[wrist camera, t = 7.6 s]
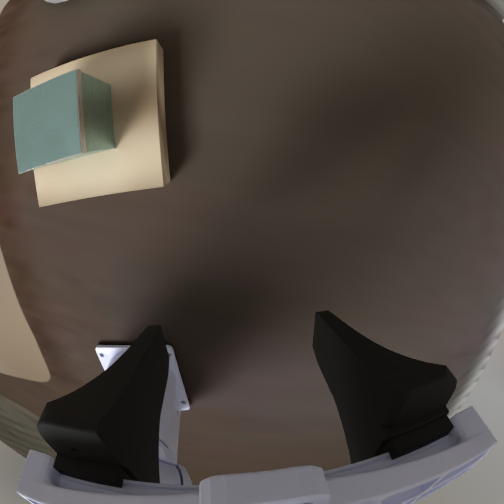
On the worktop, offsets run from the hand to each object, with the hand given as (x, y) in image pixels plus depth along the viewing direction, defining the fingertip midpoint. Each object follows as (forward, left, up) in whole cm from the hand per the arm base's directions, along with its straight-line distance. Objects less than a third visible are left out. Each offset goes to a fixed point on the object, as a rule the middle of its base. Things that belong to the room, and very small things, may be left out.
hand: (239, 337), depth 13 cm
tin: (+11, +9, -8) cm, 16 cm away
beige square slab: (+11, +9, -10) cm, 18 cm away
